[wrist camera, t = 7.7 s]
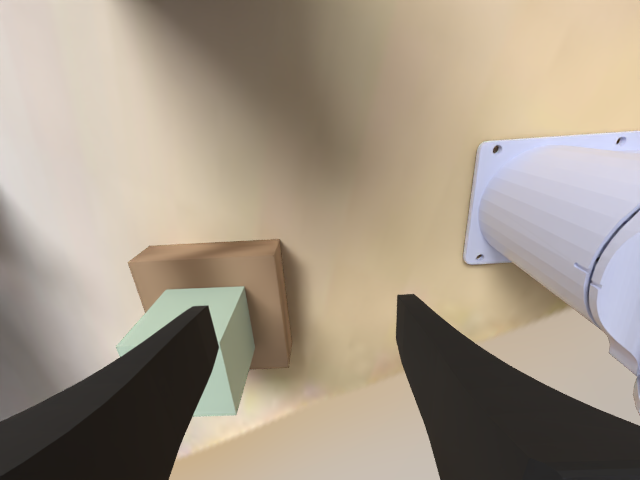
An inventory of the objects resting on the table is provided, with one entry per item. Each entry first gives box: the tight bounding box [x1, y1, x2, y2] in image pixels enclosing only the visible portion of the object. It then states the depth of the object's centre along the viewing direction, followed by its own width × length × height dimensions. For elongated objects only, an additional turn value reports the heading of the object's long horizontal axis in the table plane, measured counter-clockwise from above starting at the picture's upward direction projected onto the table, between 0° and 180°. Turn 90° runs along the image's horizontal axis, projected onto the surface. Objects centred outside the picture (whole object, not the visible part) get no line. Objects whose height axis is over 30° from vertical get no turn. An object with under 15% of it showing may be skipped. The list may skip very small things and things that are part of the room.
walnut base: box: [128, 239, 292, 369], centre depth 21 cm, size 9×9×3 cm
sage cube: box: [116, 286, 255, 417], centre depth 17 cm, size 5×5×5 cm
